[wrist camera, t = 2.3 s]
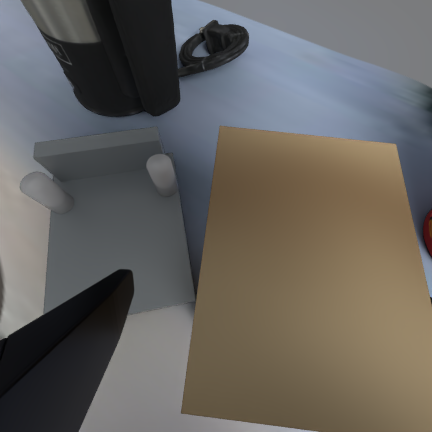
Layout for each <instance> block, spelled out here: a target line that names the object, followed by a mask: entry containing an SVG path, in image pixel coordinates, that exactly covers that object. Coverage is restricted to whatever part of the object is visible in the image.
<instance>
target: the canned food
mask: <svg viewBox="0 0 432 432" xmlns="http://www.w3.org/2000/svg"><path fill="white" fill-rule="evenodd" d="M423 234H424V240H425V243H426V246H427V248H428V250H429V253H430V255H431V256H432V209H431V211H430V212H429V213H428V214H427V216H426V218H425V220H424V226H423Z"/></svg>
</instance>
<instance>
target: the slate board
mask: <svg viewBox="0 0 432 432" xmlns="http://www.w3.org/2000/svg"><path fill="white" fill-rule="evenodd" d="M33 158H34V159H35V160H36V161H37V162H39V163H40V164H41V165H42V166H43V167H44V168H46V169H47V170H48V171H49V172H50V173H51V174H53V180H51V179H50V178H49V177H48V176H46V175H45V174H44V173H42V172H33V173H30V174H28V175H26V176H25V177H24V178H23V179H22V181H21V183H20V189H21V191H22V192H23V193H24V194H26V195H28V196H29V197H31V198H32V199H34V200H36V201H37V202H39V203H40V204H42V205H44V206H45V207H47V208H48V209H50V210H51V216H50V230H49V244H48V258H47V272H46V286H45V300H44V314H45V313H47V312H49V311H50V310H52V309H54V308H55V307H57V306H59V305H60V304H62V303H64V302H65V301H67V300H69V299H70V298H72V297H74V296H75V295H77V294H79V293H80V292H82V291H84V290H85V289H87V288H88V287H90V286H92V285H93V284H95V283H97V282H98V281H100V280H102V279H103V278H105V277H107V276H108V275H110V274H112V273H113V272H115V271H117V270H119V269H130V270H132V272H133V279H134V296H133V299H132V302H131V305H130V308H129V311H128V315H131V314H136V313H141V312H146V311H151V310H155V309H160V308H165V307H170V306H175V305H179V304H184V303H189V302H194V301H196V296H195V290H194V283H193V277H192V271H191V264H190V258H189V251H188V245H187V239H186V232H185V226H184V219H183V213H182V207H181V200H180V194H179V187H178V181H177V175H176V168H175V162H174V157H173V153H166V154H165V152H164V148H163V145H162V141H161V138H160V134H159V131H158V127H150V128H142V129H135V130H127V131H120V132H113V133H105V134H98V135H90V136H83V137H75V138H68V139H61V140H53V141H46V142H38V143H35V147H34V156H33ZM44 314H43V315H44Z"/></svg>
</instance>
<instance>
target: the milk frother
mask: <svg viewBox="0 0 432 432" xmlns="http://www.w3.org/2000/svg"><path fill="white" fill-rule="evenodd" d="M21 2H22V3H23V5H24V6H25V8H26V9H27V11H28V13H29V14H30V16H31V17H32V19H33V20H34V22H35V24H36V25H37V27H38V29H39V30H40V32H41V34H42V36H43V37H44V39H45V41H46V42H47V44H48V46H49V47H50V49H51V50H52V51H53V53H54V55H55V56H56V58H57V60H58V61H59V63H60V65H61V66H62V68H63V70H64V74H65V75H66V77H67V79H68V81H69V82H70V84H71V86H72V87H73V90H74V94H75V96H76V98H77V99H78V101H79V102H80V103H81V104H82V105H83V106H84V107H85V108H87V109H88V110H90V111H92V112H95V113H97V114H100V115H105V116H126V115H132V114H135V113H139V112H141V111H143V110H146V112H147V113H149V114H150V115H152V116H160V115H162V114H164V113H166V112H168V111H169V110H171V109H173V108H174V107H176V106H177V105H178V104H179V102H180V88H179V78H178V77H184V76H188V75H192V74H196V73H200V72H204V71H207V70H211V69H214V68H217V67H219V66H221V65H224V64H226V63H228V62H230V61H232V60H233V59H235V58H237V57H238V56H239V55H241V54H242V53H243V52H244V51H245V50H246V48H247V47H248V44H249V33H248V32H247V30H246V29H245V28H244V27H242V26H239V25H234V24H229V25H220V24H218V21H216V20H213V21H211V22H210V23H208V24H207V25H206V26H205V27H201V28H200V29H199V30H200V33H199V34H195V35H194V36H192V37H191V38H190V39H188V40H187V41H186V42H185V43H184V44H183V45H182V47H181V51H180V54H179V58H180V61H181V63H182V64H183V66H184V67H182V68H179V69H178V66H177V54H176V42H175V34H174V22H173V13H172V6H171V0H21ZM205 40H206V44H207V48H208V50H209V52H210V54H211V55H209V56H207V57H194V56H192V52H193V50H194V49H195V48H196V47H197V46H198V45H199V44H200V43H201V42H203V41H205ZM216 52H218V53H216Z"/></svg>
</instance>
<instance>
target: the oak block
mask: <svg viewBox="0 0 432 432" xmlns="http://www.w3.org/2000/svg"><path fill="white" fill-rule="evenodd" d="M181 413H182V414H189V415H197V416H204V417H212V418H220V419H227V420H235V421H243V422H250V423H258V424H265V425H273V426H281V427H288V428H296V429H304V430H311V431H319V432H432V304H431V300H430V295H429V291H428V286H427V282H426V277H425V273H424V268H423V264H422V259H421V255H420V250H419V246H418V241H417V237H416V232H415V228H414V223H413V219H412V214H411V210H410V205H409V201H408V196H407V192H406V187H405V183H404V178H403V174H402V169H401V165H400V160H399V156H398V151H397V147H396V144H391V143H381V142H372V141H362V140H352V139H343V138H333V137H323V136H314V135H304V134H294V133H284V132H275V131H265V130H255V129H246V128H236V127H226V126H220V128H219V136H218V143H217V150H216V158H215V165H214V173H213V180H212V187H211V195H210V202H209V209H208V217H207V224H206V232H205V239H204V246H203V254H202V261H201V268H200V276H199V283H198V291H197V298H196V305H195V313H194V320H193V327H192V335H191V342H190V350H189V357H188V364H187V372H186V379H185V386H184V394H183V401H182V409H181Z"/></svg>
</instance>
